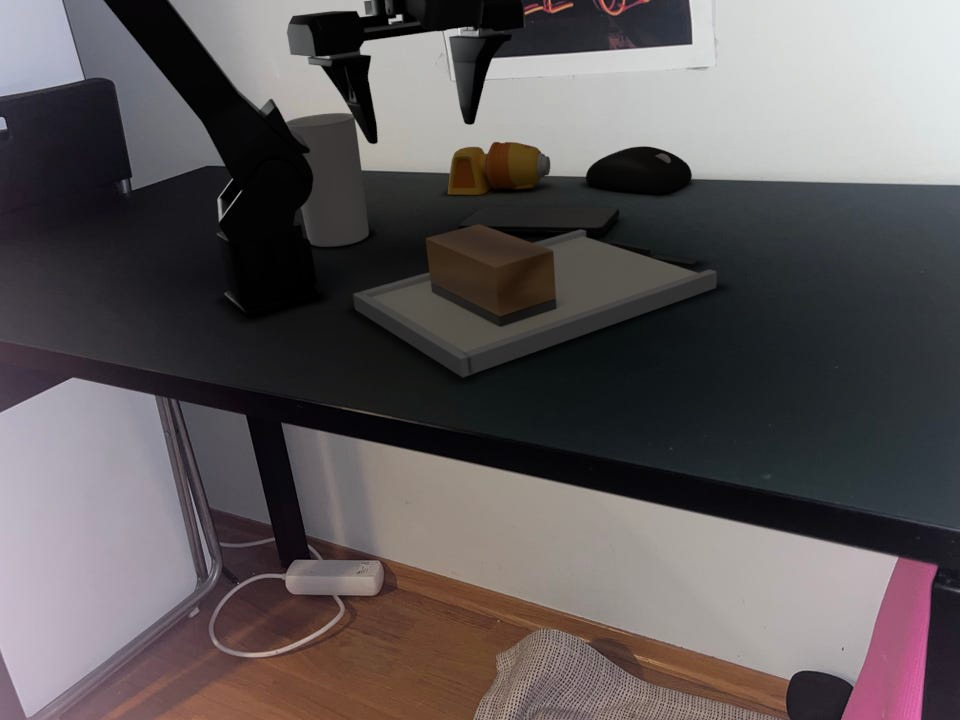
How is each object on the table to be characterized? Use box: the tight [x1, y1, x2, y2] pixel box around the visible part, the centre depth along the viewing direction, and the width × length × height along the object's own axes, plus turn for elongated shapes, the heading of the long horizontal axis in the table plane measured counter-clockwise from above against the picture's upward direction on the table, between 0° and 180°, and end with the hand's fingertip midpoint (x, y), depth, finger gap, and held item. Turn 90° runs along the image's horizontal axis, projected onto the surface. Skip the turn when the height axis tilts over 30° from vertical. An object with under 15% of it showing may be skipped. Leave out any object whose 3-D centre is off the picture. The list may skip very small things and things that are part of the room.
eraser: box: [425, 224, 556, 327], centre depth 66 cm, size 5×10×4 cm, turn 32°
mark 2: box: [650, 253, 699, 268], centre depth 74 cm, size 1×4×1 cm, turn 49°
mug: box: [285, 112, 370, 248], centre depth 88 cm, size 10×7×12 cm, turn 59°
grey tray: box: [352, 230, 718, 379], centre depth 69 cm, size 23×17×1 cm
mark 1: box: [610, 241, 651, 258], centre depth 76 cm, size 1×4×1 cm
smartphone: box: [457, 206, 620, 237], centre depth 87 cm, size 7×1×15 cm
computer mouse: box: [585, 145, 693, 194], centre depth 98 cm, size 8×12×4 cm, turn 50°
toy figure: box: [447, 141, 551, 196], centre depth 101 cm, size 5×6×12 cm
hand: (422, 133), depth 73 cm, fingers open, 9 cm apart
